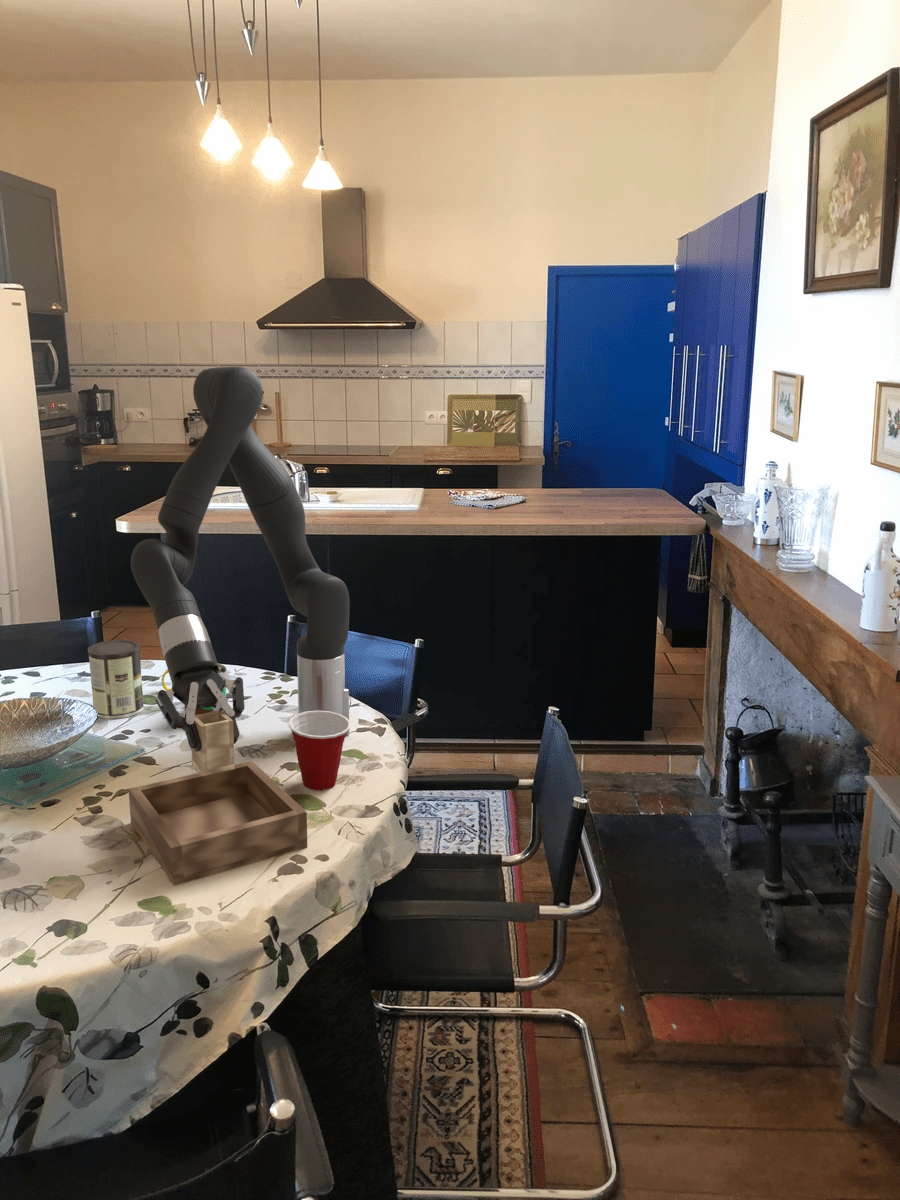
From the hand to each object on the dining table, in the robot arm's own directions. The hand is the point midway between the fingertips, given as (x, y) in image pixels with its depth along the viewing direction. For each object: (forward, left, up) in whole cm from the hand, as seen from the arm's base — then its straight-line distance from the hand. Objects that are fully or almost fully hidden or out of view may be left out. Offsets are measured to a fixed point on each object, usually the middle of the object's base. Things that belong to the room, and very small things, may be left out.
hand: (216, 745), depth 146 cm
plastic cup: (-22, -10, -16) cm, 29 cm away
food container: (-17, -50, -16) cm, 55 cm away
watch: (-15, -69, -16) cm, 72 cm away
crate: (0, -2, -16) cm, 16 cm away
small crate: (0, -2, -4) cm, 5 cm away
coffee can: (-1, -64, -16) cm, 66 cm away
